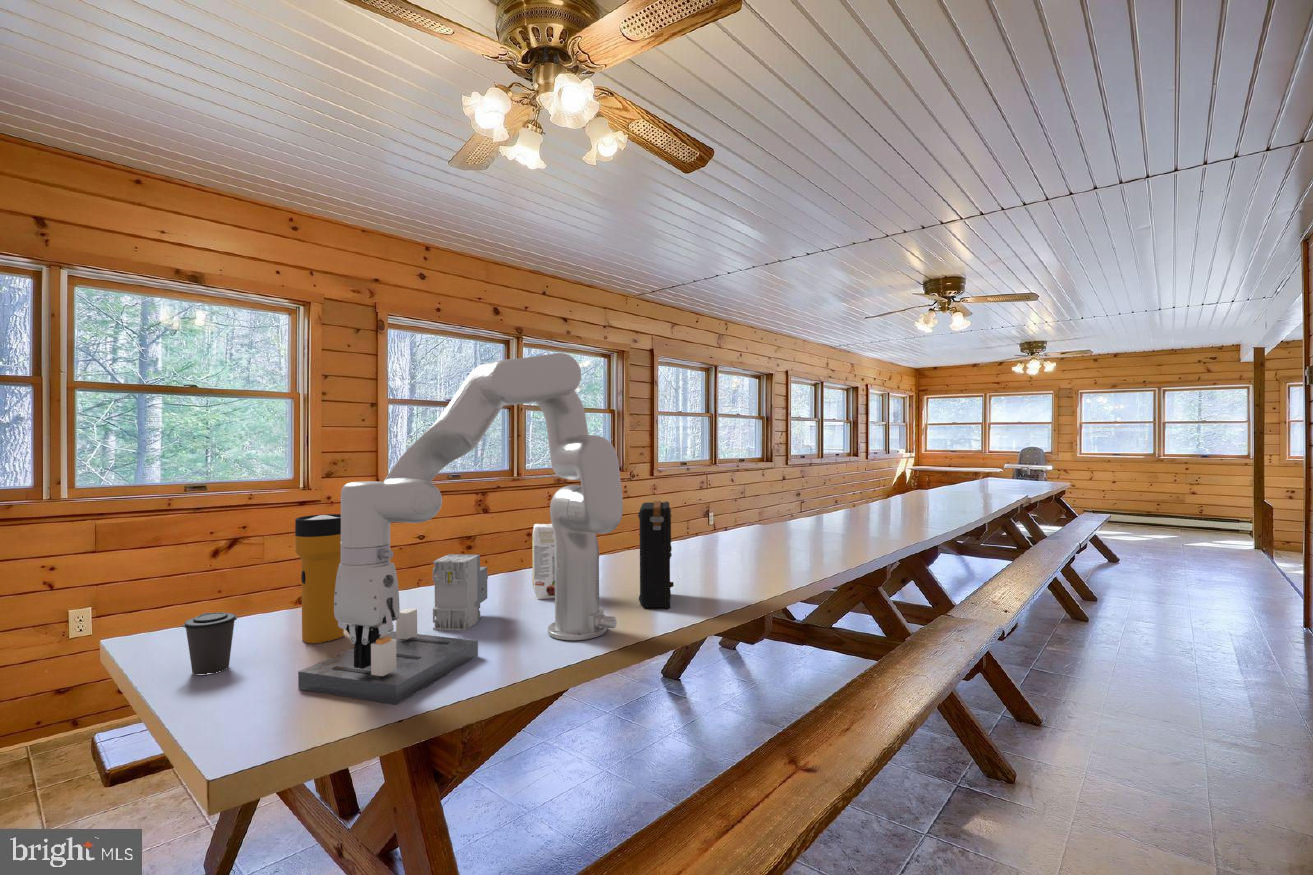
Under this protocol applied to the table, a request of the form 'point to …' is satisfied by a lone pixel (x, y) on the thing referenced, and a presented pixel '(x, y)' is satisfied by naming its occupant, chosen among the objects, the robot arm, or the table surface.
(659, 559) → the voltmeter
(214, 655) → the coffee cup
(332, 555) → the flashlight
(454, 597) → the circuit breaker
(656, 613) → the table surface
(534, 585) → the juice carton
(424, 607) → the table surface
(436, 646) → the grey slider panel
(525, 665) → the table surface
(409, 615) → the block
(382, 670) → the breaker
